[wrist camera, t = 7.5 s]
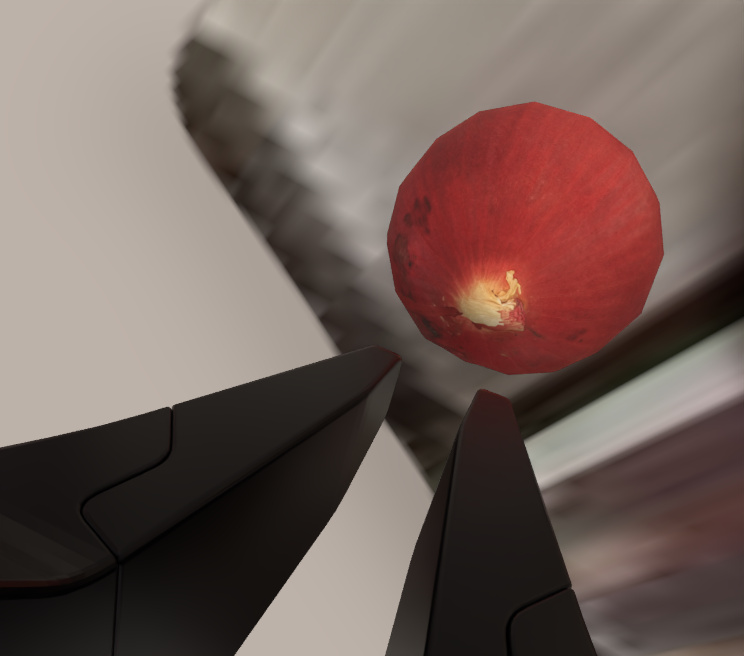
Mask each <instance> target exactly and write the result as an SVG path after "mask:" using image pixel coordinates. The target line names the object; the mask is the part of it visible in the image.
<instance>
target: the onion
mask: <svg viewBox="0 0 744 656" xmlns="http://www.w3.org/2000/svg"><path fill="white" fill-rule="evenodd" d="M387 247H388V252H389V258H390V263H391V269H392V274H393V280H394V286H395V291H396V293H397V295H398V297H399V298H400V300H401V301H402V303H403V305H404V306H405V308H406V309H407V311H408V313H409V314H410V316H411V317H412V319H413V321H414V322H415V324H416V325H417V327H418V329H419V330H420V332H421V333H422V335H423V336H424V337H425V338H426V339H427V340H429V341H431V342H433V343H435V344H437V345H438V346H440V347H442V348H444V349H446V350H447V351H449V352H451V353H452V354H454V355H455V356H457V357H459V358H460V359H462V360H463V361H465V362H469V363H473V364H477V365H480V366H483V367H486V368H489V369H492V370H495V371H498V372H501V373H504V374H507V375H513V374H530V373H547V372H554V371H558V370H560V369H562V368H564V367H566V366H568V365H571V364H573V363H575V362H577V361H579V360H582V359H584V358H586V357H588V356H590V355H593V354H595V353H597V352H598V351H599V350H600V349H602V348H603V347H604V346H605V345H606V344H607V343H608V342H610V341H611V340H612V339H613V338H614V337H615V336H616V335H617V334H619V333H620V332H621V331H622V330H623V329H624V328H625V327H626V326H628V325H629V324H630V323H631V322H632V321H633V320H634V319H636V318H637V317H638V316H639V315H640V314H641V313H642V310H643V307H644V305H645V302H646V300H647V297H648V295H649V292H650V289H651V287H652V284H653V282H654V279H655V276H656V274H657V271H658V269H659V266H660V263H661V261H662V258H663V256H664V250H663V238H662V227H661V215H660V204H659V201H658V198H657V196H656V194H655V192H654V190H653V188H652V186H651V185H650V183H649V181H648V179H647V177H646V175H645V174H644V172H643V170H642V168H641V166H640V164H639V163H638V161H637V159H636V157H635V155H634V153H633V151H631V150H630V149H629V148H628V147H626V146H625V145H624V144H623V143H621V142H620V141H619V140H618V139H616V138H615V137H614V136H613V135H611V134H610V133H609V132H608V131H606V130H605V129H604V128H603V127H601V126H600V125H599V124H598V123H596V122H595V121H594V120H593V119H591V118H590V117H586V116H583V115H579V114H576V113H572V112H569V111H565V110H562V109H558V108H555V107H551V106H548V105H544V104H541V103H537V102H530V103H524V104H518V105H513V106H507V107H502V108H496V109H491V110H485V111H479V112H478V113H476V114H475V115H473V116H472V117H470V118H468V119H467V120H465V121H464V122H462V123H461V124H459V125H457V126H456V127H454V128H453V129H451V130H450V131H448V132H446V133H445V134H443V135H442V136H440V137H439V138H437V139H436V140H435V142H434V143H433V144H432V145H431V147H430V148H429V149H428V150H427V152H426V153H425V154H424V155H423V157H422V158H421V159H420V160H419V162H418V163H417V164H416V165H415V167H414V168H413V169H412V170H411V172H410V173H409V174H408V175H407V177H406V178H405V180H404V181H403V182H402V184H401V185H400V186H399V190H398V194H397V198H396V202H395V206H394V210H393V214H392V217H391V221H390V225H389V229H388V233H387Z"/></svg>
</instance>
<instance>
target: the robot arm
mask: <svg viewBox="0 0 744 656" xmlns="http://www.w3.org/2000/svg"><path fill="white" fill-rule="evenodd" d="M401 364H402V359H401V357H400V356H399V355H398V354H396V353H394V352H391V351H389V350H386V349H384V348H381V347H379V346H375V345H374V346H369V347H365V348H362V349H359V350H355V351H352V352H349V353H345V354H342V355H339V356H335V357H332V358H329V359H325V360H322V361H319V362H316V363H312V364H309V365H305V366H302V367H299V368H295V369H292V370H289V371H285V372H282V373H279V374H276V375H272V376H269V377H266V378H262V379H259V380H255V381H252V382H249V383H246V384H242V385H239V386H236V387H232V388H229V389H225V390H222V391H219V392H215V393H212V394H209V395H205V396H202V397H199V398H195V399H192V400H189V401H185V402H183V403H179V404H175V405H173V406H172V410H171V408H170V407H165V408H162V409H158V410H155V411H151V412H148V413H145V414H141V415H138V416H134V417H130V418H127V419H123V420H119V421H116V422H112V423H108V424H105V425H101V426H97V427H93V428H88V429H84V430H80V431H76V432H71V433H67V434H62V435H58V436H53V437H49V438H44V439H39V440H34V441H30V442H25V443H20V444H15V445H10V446H6V447H1V448H0V656H234V655H235V654H236V652H237V651H238V649H239V648H240V647H241V645H242V644H243V642H244V641H245V639H246V638H247V637H248V635H249V634H250V633H251V631H252V630H253V628H254V627H255V625H256V624H257V623H258V621H259V620H260V618H261V617H262V615H263V614H264V613H265V611H266V610H267V608H268V607H269V606H270V604H271V603H272V601H273V600H274V598H275V597H276V596H277V594H278V593H279V591H280V590H281V589H282V587H283V586H284V584H285V583H286V581H287V580H288V579H289V577H290V576H291V574H292V573H293V572H294V570H295V569H296V567H297V566H298V564H299V563H300V562H301V560H302V559H303V557H304V556H305V555H306V553H307V552H308V550H309V549H310V547H311V546H312V545H313V543H314V542H315V540H316V539H317V537H318V536H319V535H320V533H321V532H322V530H323V529H324V528H325V526H326V525H327V523H328V522H329V520H330V518H331V517H332V516H333V514H334V513H335V511H336V509H337V508H338V506H339V504H340V502H341V501H342V499H343V497H344V495H345V493H346V492H347V490H348V488H349V486H350V484H351V482H352V480H353V478H354V476H355V474H356V472H357V470H358V469H359V466H360V465H361V462H362V461H363V459H364V457H365V455H366V453H367V451H368V449H369V447H370V446H371V444H372V442H373V440H374V438H375V436H376V434H377V432H378V430H379V428H380V426H381V424H382V422H383V420H384V418H385V416H386V413H387V411H388V408H389V405H390V401H391V398H392V395H393V391H394V388H395V385H396V381H397V378H398V375H399V371H400V368H401ZM571 587H572V584H571V581H570V578H569V575H568V572H567V569H566V566H565V563H564V560H563V557H562V554H561V551H560V548H559V545H558V542H557V539H556V536H555V533H554V530H553V527H552V524H551V521H550V518H549V515H548V513H547V510H546V507H545V504H544V501H543V498H542V495H541V492H540V489H539V486H538V483H537V480H536V477H535V474H534V471H533V468H532V465H531V462H530V459H529V456H528V453H527V450H526V447H525V444H524V441H523V438H522V435H521V432H520V429H519V426H518V423H517V420H516V417H515V414H514V411H513V408H512V405H511V402H510V401H509V400H508V399H507V398H505V397H503V396H500V395H498V394H495V393H493V392H490V391H488V390H485V389H480V390H478V391H477V393H476V395H475V397H474V399H473V401H472V403H471V405H470V407H469V409H468V411H467V413H466V415H465V417H464V419H463V421H462V423H461V425H460V427H459V430H458V433H457V435H456V438H455V440H454V443H453V446H452V449H451V451H450V454H449V457H448V459H447V462H446V465H445V467H444V470H443V473H442V475H441V478H440V481H439V483H438V486H437V489H436V491H435V494H434V497H433V499H432V502H431V505H430V508H429V510H428V513H427V516H426V518H425V521H424V524H423V526H422V529H421V532H420V534H419V537H418V540H417V542H416V545H415V549H414V552H413V555H412V558H411V561H410V565H409V569H408V573H407V576H406V580H405V584H404V588H403V591H402V595H401V599H400V602H399V606H398V610H397V613H396V618H395V621H394V625H393V628H392V632H391V636H390V639H389V643H388V647H387V651H386V655H385V656H597V654H596V651H595V648H594V646H593V643H592V640H591V638H590V635H589V632H588V630H587V627H586V624H585V622H584V619H583V616H582V613H581V610H580V607H579V604H578V601H577V598H576V595H575V592H574V590H572V589H571Z"/></svg>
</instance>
